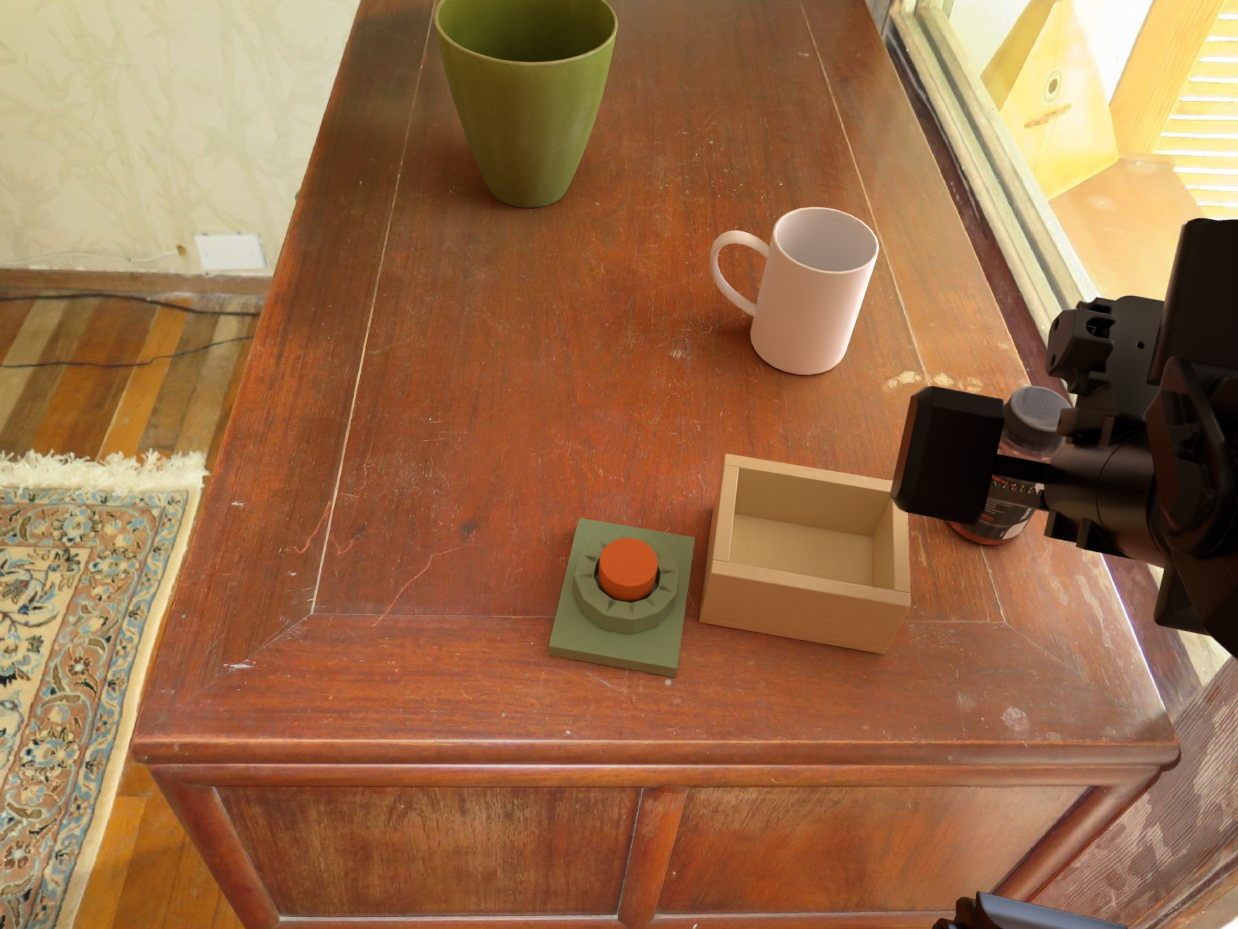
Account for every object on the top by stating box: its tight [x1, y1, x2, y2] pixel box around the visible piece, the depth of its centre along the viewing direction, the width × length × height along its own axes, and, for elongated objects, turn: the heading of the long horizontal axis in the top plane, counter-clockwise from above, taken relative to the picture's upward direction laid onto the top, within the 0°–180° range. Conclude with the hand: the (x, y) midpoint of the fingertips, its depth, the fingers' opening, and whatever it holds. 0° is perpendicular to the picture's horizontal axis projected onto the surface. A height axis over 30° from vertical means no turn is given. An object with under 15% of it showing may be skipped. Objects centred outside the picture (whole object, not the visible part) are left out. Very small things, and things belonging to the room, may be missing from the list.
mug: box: [709, 206, 880, 376], centre depth 77 cm, size 12×8×10 cm, turn 82°
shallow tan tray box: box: [698, 453, 912, 655], centre depth 64 cm, size 10×12×6 cm
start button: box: [598, 538, 658, 601], centre depth 62 cm, size 4×4×2 cm
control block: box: [547, 517, 696, 678], centre depth 63 cm, size 10×8×3 cm
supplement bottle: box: [947, 385, 1072, 546], centre depth 66 cm, size 6×6×11 cm
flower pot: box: [433, 0, 619, 209], centre depth 86 cm, size 15×15×16 cm
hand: (1041, 474), depth 56 cm, fingers open, 9 cm apart
